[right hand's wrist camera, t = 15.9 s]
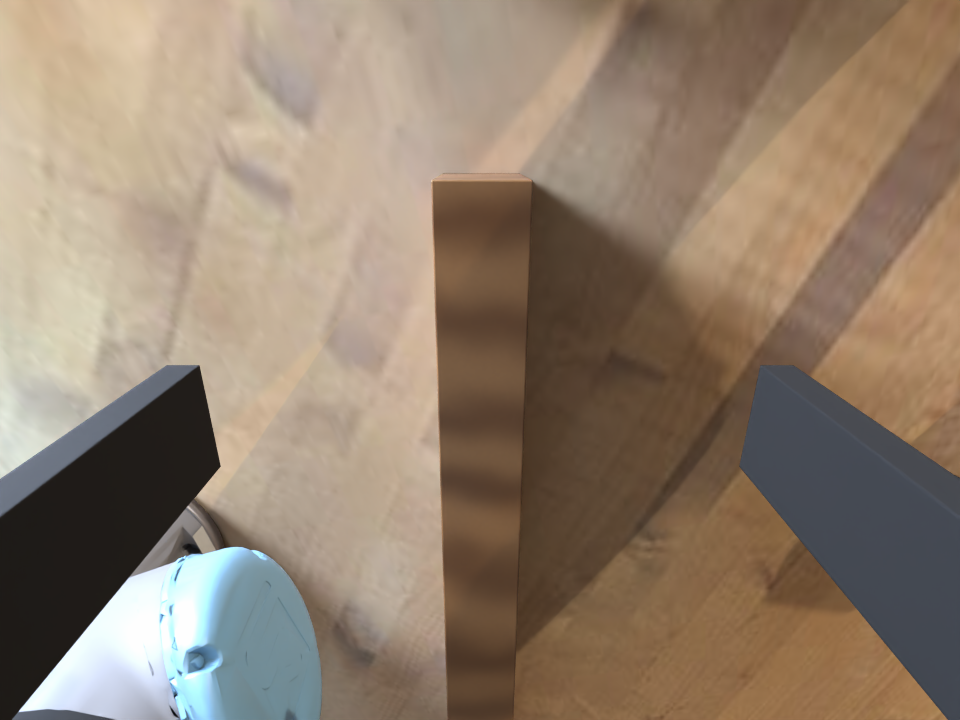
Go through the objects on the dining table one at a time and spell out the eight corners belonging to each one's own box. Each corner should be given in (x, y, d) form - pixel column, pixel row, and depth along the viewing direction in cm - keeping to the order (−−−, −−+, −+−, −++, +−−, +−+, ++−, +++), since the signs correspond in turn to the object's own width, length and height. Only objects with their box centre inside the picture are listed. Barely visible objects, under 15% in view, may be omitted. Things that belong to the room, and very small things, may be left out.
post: (442, 173, 34) (431, 180, 26) (520, 173, 34) (533, 180, 26) (457, 845, 61) (454, 950, 53) (501, 845, 61) (504, 950, 53)
